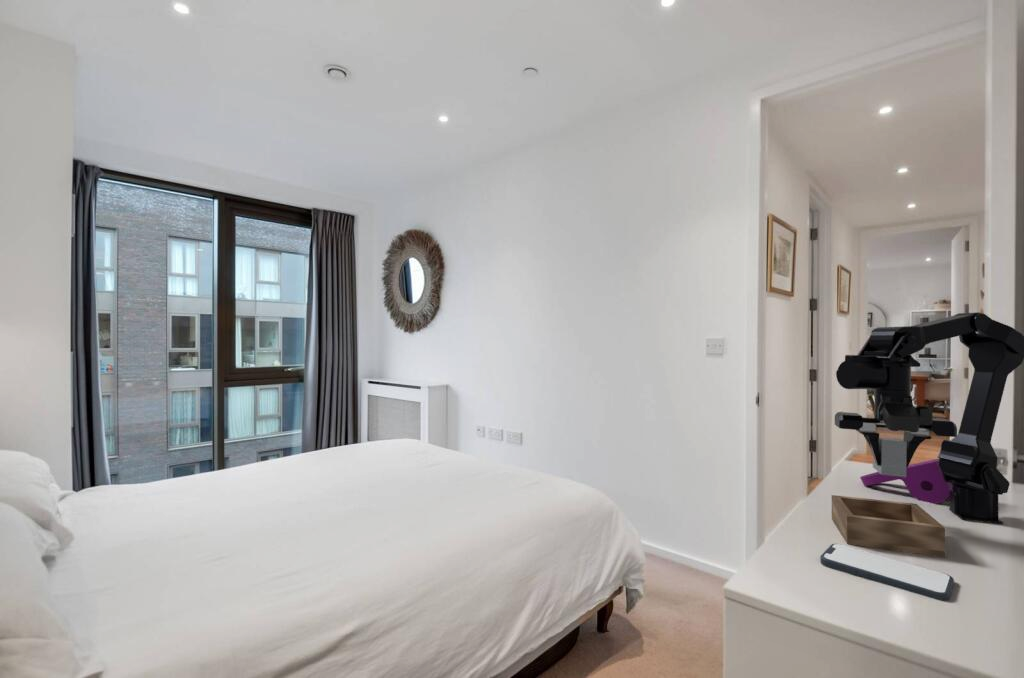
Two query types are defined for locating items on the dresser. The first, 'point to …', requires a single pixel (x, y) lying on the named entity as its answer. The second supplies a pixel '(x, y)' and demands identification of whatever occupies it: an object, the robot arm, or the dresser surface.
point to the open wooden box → (888, 525)
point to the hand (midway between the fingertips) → (891, 466)
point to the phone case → (888, 571)
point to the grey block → (892, 457)
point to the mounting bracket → (919, 481)
